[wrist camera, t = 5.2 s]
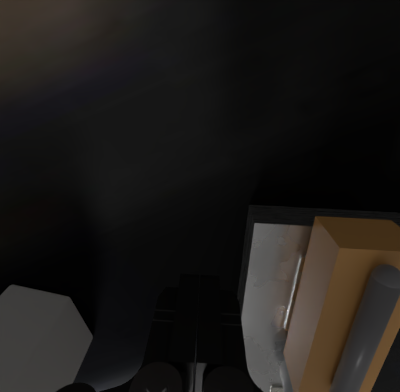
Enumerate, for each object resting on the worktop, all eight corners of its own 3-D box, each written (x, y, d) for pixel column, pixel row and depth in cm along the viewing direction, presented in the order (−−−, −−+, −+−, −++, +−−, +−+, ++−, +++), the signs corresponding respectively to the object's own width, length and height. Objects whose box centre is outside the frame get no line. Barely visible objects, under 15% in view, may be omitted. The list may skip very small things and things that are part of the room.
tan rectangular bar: (330, 389, 20) (358, 462, 16) (275, 385, 20) (290, 458, 16) (391, 220, 15) (456, 271, 11) (315, 216, 15) (353, 265, 11)
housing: (326, 416, 27) (339, 452, 24) (223, 409, 27) (224, 445, 24) (402, 212, 18) (435, 235, 15) (248, 204, 18) (255, 225, 15)
